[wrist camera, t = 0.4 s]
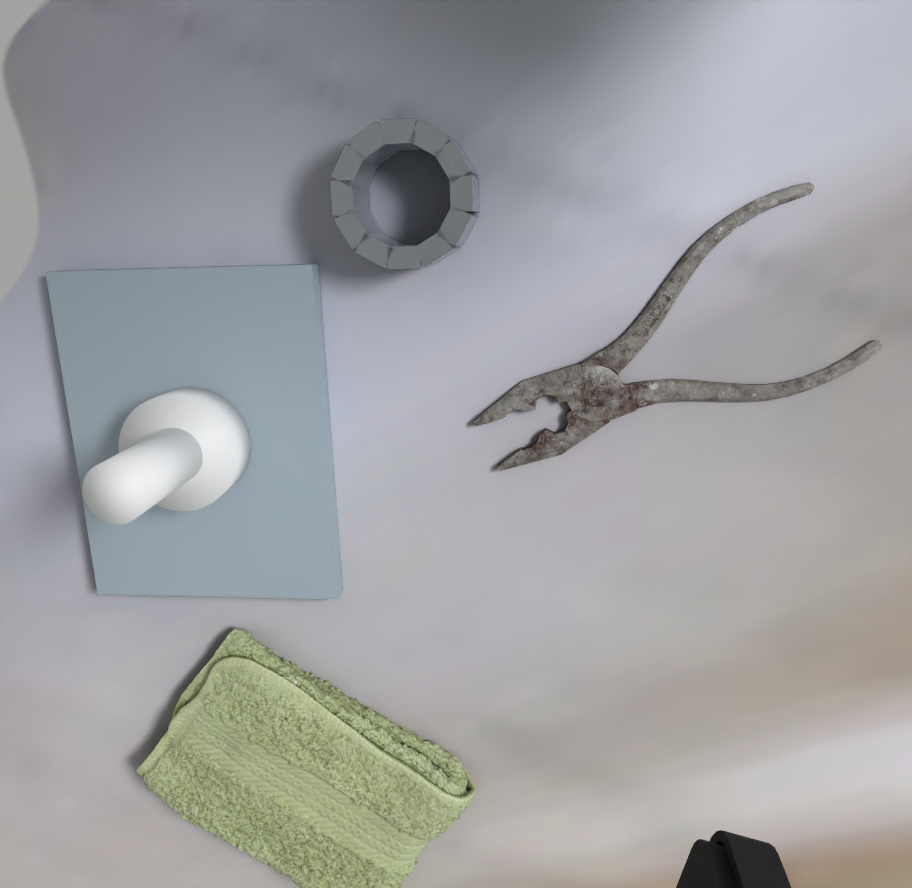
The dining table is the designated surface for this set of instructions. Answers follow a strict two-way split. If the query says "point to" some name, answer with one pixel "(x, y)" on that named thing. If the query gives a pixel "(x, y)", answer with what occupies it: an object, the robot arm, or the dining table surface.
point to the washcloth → (302, 772)
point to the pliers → (595, 382)
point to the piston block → (201, 428)
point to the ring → (359, 171)
